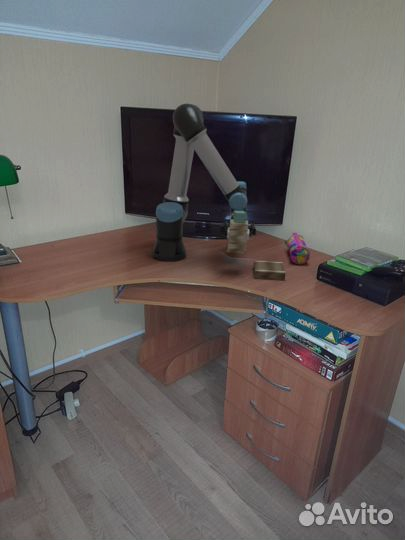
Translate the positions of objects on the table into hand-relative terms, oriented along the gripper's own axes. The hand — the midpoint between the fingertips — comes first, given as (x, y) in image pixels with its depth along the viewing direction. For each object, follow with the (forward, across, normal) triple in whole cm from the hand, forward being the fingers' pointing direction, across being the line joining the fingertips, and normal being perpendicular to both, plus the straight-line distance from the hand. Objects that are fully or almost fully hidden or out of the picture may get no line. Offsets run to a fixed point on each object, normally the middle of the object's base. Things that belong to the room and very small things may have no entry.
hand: (238, 236), depth 150 cm
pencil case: (-28, -28, -17) cm, 43 cm away
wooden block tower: (-5, 0, -8) cm, 9 cm away
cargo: (-5, 0, +4) cm, 7 cm away
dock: (-5, -14, -17) cm, 22 cm away
